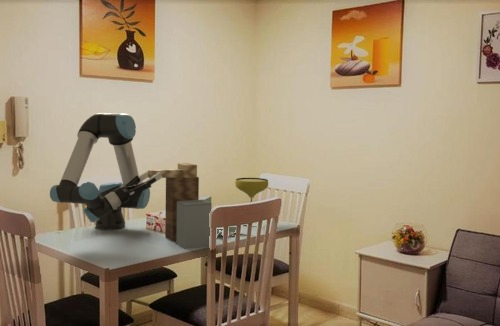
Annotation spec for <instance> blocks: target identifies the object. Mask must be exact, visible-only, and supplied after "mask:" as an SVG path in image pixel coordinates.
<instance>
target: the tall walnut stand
mask: <svg viewBox="0 0 500 326" xmlns="http://www.w3.org/2000/svg"><path fill="white" fill-rule="evenodd" d="M199 186H200V177H199V176H197V177H195V178H184V177H172V178H165V217H164V218H165V222H164V223H165V228H164V230H165V234H164V235H165V236H164V237H165V238H166V239H168V240H170V241H171V242H176V236H177V201H187V200H199V197H200V196H199V190H200V187H199Z"/></svg>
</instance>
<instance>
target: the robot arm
mask: <svg viewBox="0 0 500 326" xmlns="http://www.w3.org/2000/svg"><path fill="white" fill-rule="evenodd" d="M136 129H137V127H136V123H135V120H134V117H133V116H132V115H130V114H128V113H122V112H121V113H112V112H111V113H107V112H98V113H95V114H93V115H91V116H89V117H88V118H87V119H86V120H85V121H84V122H83V124H82V125H81V126H80V128H79V130H78V132H77V134H76V136H77V140H76V142H75V145H74V147H73V149H72V152H71V154H70V157H69V159H68V163H67V164H66V167H65V168H64V171H63V174H62V176H61V179H60V181H59V183H58V184H54V185H52V187H51V188H50V190H49V198H50V200H51V201H52V202H54V203H59V204H60V203H61V204H62V203H66V204H68V203H69V204H79V205H80V204H81V205H85V206H86V207H84V209H83V213H84V215H85V216H86V217H87V219H88V221H89V222H90V223H95V228H96V229H99V230H118V229H123V228H125V227H126V221H125V218H124V214H123V209H136V210H138V209H140V210H141V209H142V210H143V209H146V207H147V206H148V204H149V201H150V197H151V189H150V188H152V185H153V184H155V183H157V182H158V181H160V180H161V179H164V178H163V177H162V176H161V174H160V172H159V173H157V174H156V175H154V176H153V177H151V178H148V170H147V171H145V172H144V173H141V174H140V175H139V171H138V165H137V162H136V157H135V153H134V148H133V144H132V141H133V140H134V137H135V136H136V132H137V131H136ZM100 138H104V139H106V138H107V140H108V142H109V144H110V145H111V146H112V147H113V149H114V153H115V158H116V161H117V167H118V170H119V174H120V178H121V181H122V182H121V181H120V182H119V181H118V182H117V181H115V182H108V183H102V184H100V185H99V186H98V187H97V185H96V184H95V183H94V182H92V181H87V182H84V183H82V184H81V185H80V186H79V185H78V184H79V183H80V180H81V177H82V175H83V173H84V170H85V167H86V164H87V163H88V160H89V158H90V155H91V152H92V150H93V148H94V145H95V144H97V143H98V140H99V139H100ZM146 179H147V180H146ZM145 180H146V181H145Z"/></svg>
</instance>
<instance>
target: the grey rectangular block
mask: <svg viewBox="0 0 500 326" xmlns="http://www.w3.org/2000/svg"><path fill="white" fill-rule="evenodd" d="M212 204H213V203H212V201H211V202H208V201H205V200H187V201H177V236H176V241H175V242H176V245H178V246H180V247H181V248H183V249H193V248H201V247H210V246H209V236H210V227H209V213H210V211H211V208H213V207H212Z"/></svg>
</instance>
